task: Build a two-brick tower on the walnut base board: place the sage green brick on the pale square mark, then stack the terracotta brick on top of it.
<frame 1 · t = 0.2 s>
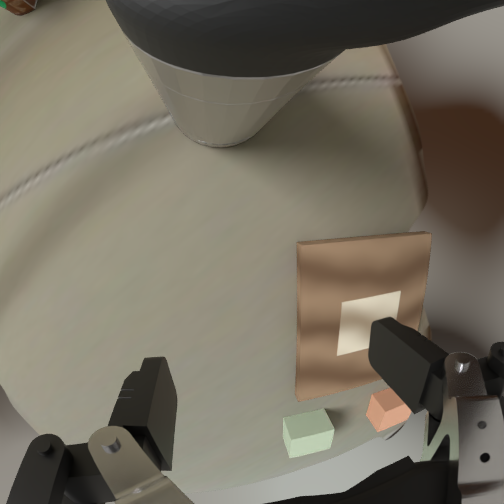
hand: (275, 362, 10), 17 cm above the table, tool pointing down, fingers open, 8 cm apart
food container: (24, 0, 13), on the table
base board: (363, 318, 31), on the table
sage green brick: (302, 423, 34), on the table
terracotta brick: (384, 398, 36), on the table
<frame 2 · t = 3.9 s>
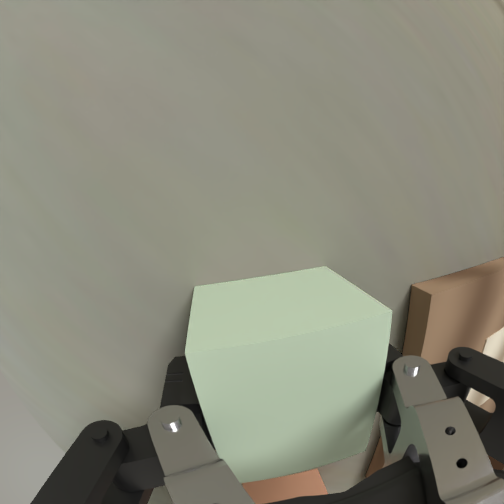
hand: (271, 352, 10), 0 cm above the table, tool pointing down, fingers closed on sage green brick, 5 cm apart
base board: (482, 360, 14), on the table
sage green brick: (269, 345, 11), on the table, touching gripper
terracotta brick: (280, 492, 14), on the table
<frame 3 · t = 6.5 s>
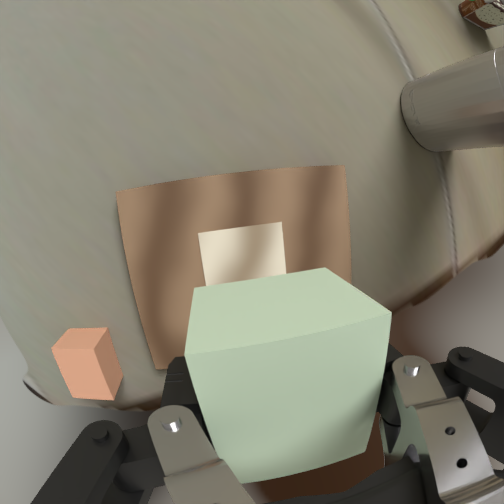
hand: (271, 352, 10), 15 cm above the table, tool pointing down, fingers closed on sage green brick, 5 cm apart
food container: (467, 12, 22), on the table
base board: (243, 269, 25), on the table
sage green brick: (269, 346, 11), point 15 cm above the table, touching gripper
terracotta brick: (95, 352, 25), on the table
when the fingers open (4 cm above the table, at t = 9.3 s): sage green brick drops 2 cm, resting on base board.
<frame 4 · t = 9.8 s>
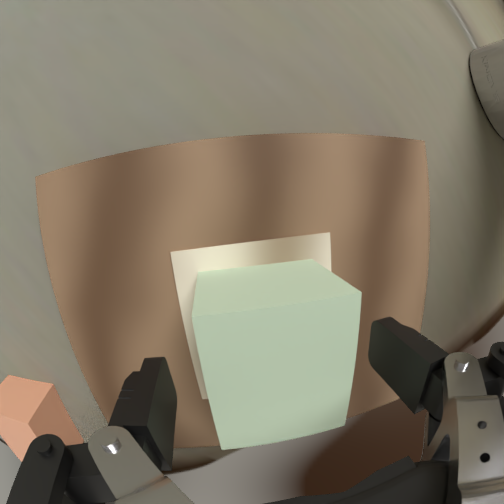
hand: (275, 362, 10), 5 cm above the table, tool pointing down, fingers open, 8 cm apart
base board: (256, 313, 14), on the table
sage green brick: (261, 327, 13), point 2 cm above the table, touching base board
terracotta brick: (45, 408, 14), on the table
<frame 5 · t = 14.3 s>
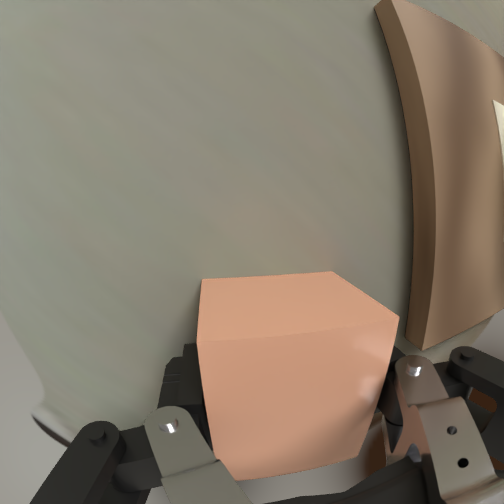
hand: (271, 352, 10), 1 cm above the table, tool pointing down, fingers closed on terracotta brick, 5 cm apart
terracotta brick: (269, 345, 11), on the table, touching gripper
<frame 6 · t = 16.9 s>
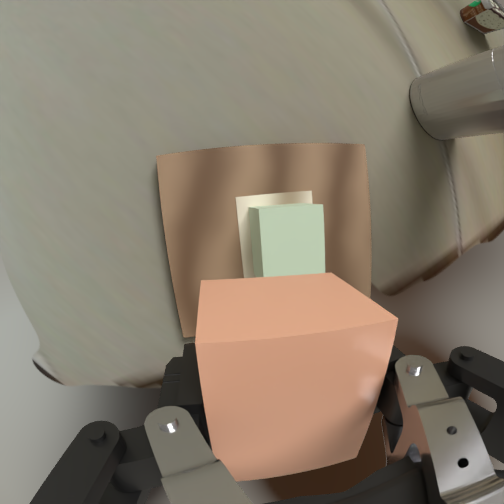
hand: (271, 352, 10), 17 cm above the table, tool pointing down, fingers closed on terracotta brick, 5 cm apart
food container: (468, 17, 25), on the table
base board: (274, 235, 27), on the table
sage green brick: (278, 238, 25), point 2 cm above the table, touching base board
terracotta brick: (268, 346, 11), point 16 cm above the table, touching gripper
when the fingers open (8 cm above the table, at t = 19.6 s): terracotta brick drops 1 cm, resting on sage green brick.
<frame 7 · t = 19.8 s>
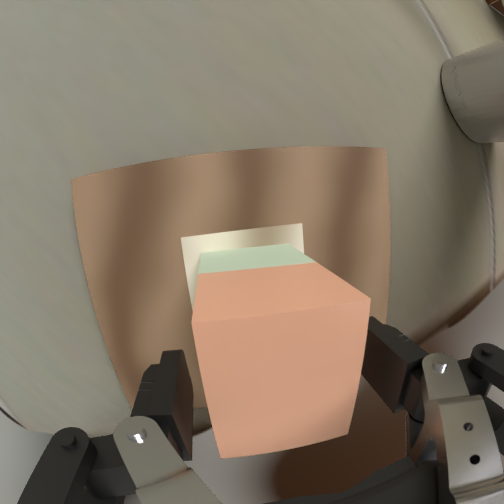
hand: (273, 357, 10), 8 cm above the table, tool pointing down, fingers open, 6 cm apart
food container: (491, 1, 15), on the table
base board: (246, 288, 18), on the table
sage green brick: (249, 297, 16), point 2 cm above the table, touching base board, terracotta brick
terracotta brick: (262, 332, 12), point 6 cm above the table, touching sage green brick
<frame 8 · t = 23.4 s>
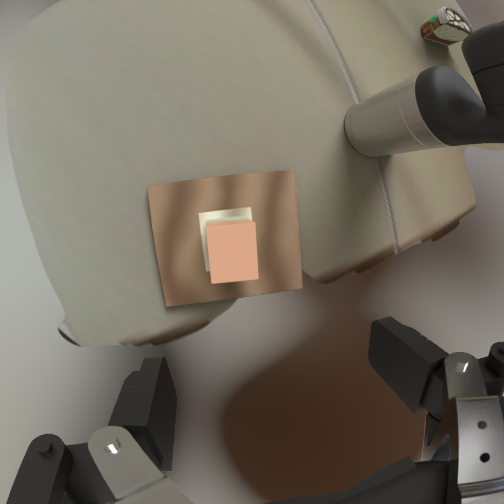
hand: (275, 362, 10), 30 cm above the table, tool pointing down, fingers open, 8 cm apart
food container: (430, 31, 36), on the table
base board: (227, 237, 39), on the table
terracotta brick: (230, 245, 33), point 6 cm above the table, touching sage green brick
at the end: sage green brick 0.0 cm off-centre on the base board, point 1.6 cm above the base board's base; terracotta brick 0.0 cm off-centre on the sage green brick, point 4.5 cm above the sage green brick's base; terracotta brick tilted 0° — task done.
